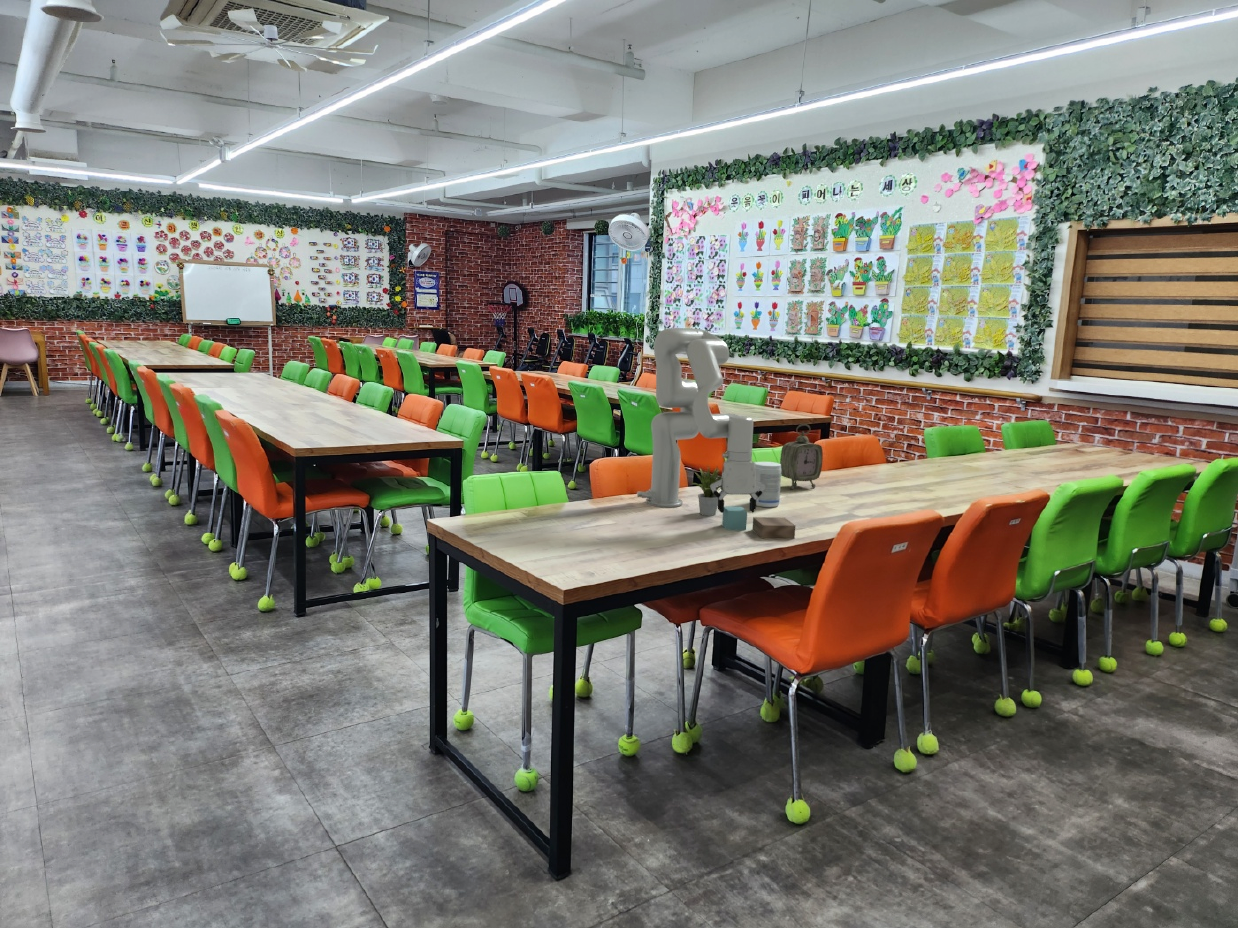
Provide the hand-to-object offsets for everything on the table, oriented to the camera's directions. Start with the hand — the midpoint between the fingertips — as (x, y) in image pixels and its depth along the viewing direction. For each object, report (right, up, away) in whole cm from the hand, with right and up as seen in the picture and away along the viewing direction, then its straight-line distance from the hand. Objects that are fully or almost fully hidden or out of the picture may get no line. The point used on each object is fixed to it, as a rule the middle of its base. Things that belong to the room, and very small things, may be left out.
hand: (736, 511), depth 261 cm
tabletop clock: (+34, +5, +69) cm, 77 cm away
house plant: (-7, -2, +17) cm, 18 cm away
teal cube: (-1, -5, +1) cm, 5 cm away
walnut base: (+10, -7, -5) cm, 13 cm away
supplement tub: (+15, 0, +35) cm, 39 cm away
